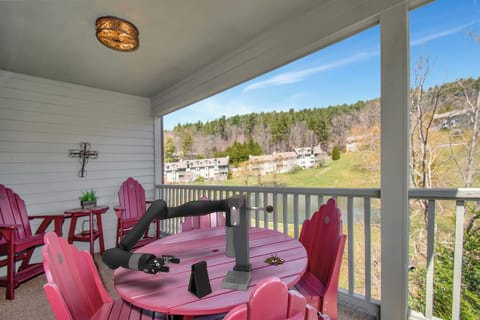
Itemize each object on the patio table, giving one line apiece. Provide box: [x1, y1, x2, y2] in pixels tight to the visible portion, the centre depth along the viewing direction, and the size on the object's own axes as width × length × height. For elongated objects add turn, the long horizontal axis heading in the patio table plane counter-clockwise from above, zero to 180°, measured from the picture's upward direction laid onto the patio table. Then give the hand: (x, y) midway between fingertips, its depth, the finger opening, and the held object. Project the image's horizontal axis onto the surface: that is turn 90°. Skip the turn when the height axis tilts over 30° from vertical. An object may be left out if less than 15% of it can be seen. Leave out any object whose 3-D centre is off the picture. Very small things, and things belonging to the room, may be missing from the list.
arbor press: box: [220, 194, 275, 292], centre depth 102 cm, size 20×22×38 cm
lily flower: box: [263, 253, 284, 267], centre depth 120 cm, size 12×12×5 cm
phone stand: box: [187, 259, 213, 299], centre depth 92 cm, size 9×6×12 cm, turn 45°
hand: (174, 265), depth 95 cm, fingers open, 8 cm apart
